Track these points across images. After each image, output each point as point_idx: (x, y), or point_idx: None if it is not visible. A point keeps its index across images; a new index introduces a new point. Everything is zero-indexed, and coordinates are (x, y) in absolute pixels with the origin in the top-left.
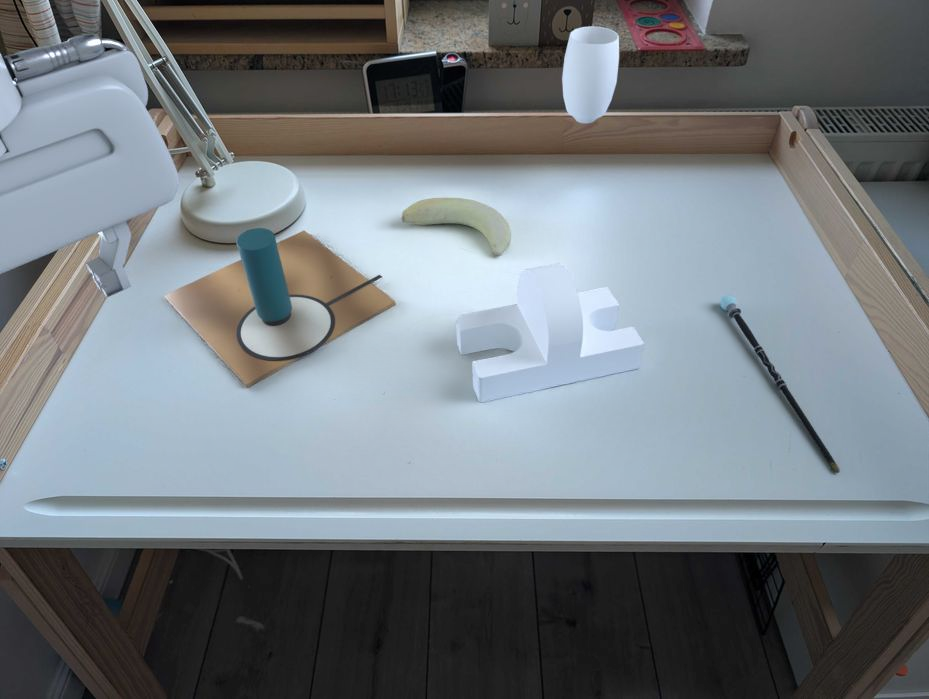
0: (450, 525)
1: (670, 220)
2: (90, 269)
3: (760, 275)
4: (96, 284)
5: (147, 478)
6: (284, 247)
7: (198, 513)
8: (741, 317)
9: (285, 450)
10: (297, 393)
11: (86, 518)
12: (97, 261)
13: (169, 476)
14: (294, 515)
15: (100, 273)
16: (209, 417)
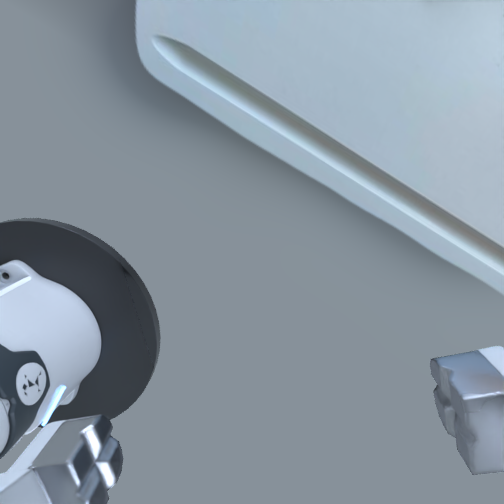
0: (494, 279)
1: None
2: (462, 418)
3: None
4: (433, 364)
5: (271, 70)
6: None
7: (304, 145)
8: None
9: (411, 112)
10: (465, 28)
11: (207, 91)
12: (497, 408)
13: (292, 80)
14: (382, 196)
15: (482, 462)
16: (358, 10)
